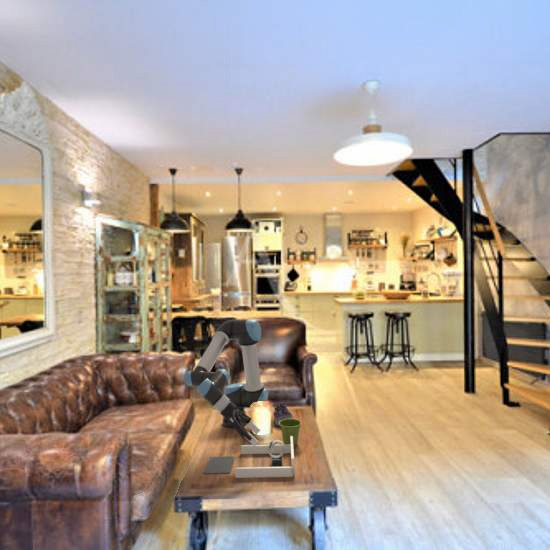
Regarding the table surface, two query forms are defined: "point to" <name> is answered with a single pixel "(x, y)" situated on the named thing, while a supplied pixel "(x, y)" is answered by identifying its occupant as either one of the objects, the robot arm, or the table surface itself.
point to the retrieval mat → (219, 465)
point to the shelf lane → (267, 471)
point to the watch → (276, 458)
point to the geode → (281, 413)
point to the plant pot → (290, 430)
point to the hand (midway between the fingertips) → (257, 438)
